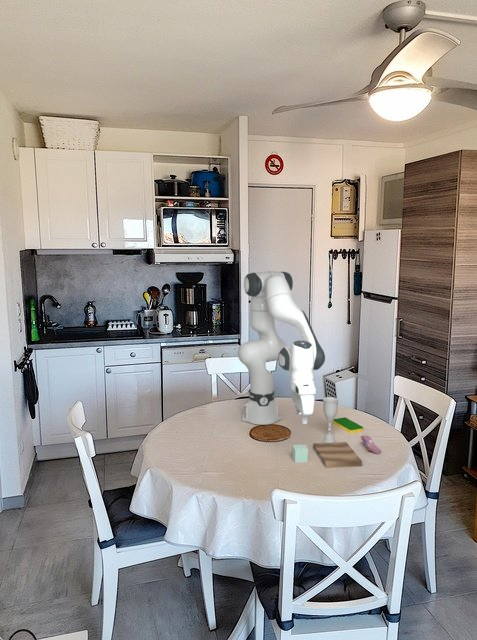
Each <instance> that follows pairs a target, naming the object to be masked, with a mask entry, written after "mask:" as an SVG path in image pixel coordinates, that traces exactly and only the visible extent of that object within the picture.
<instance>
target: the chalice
mask: <svg viewBox="0 0 477 640" xmlns="http://www.w3.org/2000/svg"><path fill="white" fill-rule="evenodd" d="M339 401H340V399H338V398H336V397H332V396H327V397H323V398H322V402H323V414H324V417H325V418H326V419H325V420H326V421H328V424H327V427H328V428H327V431H328V432H327V434H325V436H324V438H323V439H322V441H323V442H324V443H332V442H336V439H335V436H334V435H333V434H332V422H333V420H334V419H336V416H337V413H338V403H339Z"/></svg>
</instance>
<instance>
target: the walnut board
mask: <svg viewBox="0 0 477 640" xmlns="http://www.w3.org/2000/svg"><path fill="white" fill-rule="evenodd" d="M347 442H348V441H339V442H338V441H335V442H332V443H328V442H316V443H315V442H313V445H312V449H313V450H314V452H315V453H316V455H317V456H318V458H319V459H320V461H321V462H322V464H323V465H324V467H325V468H329V469H330V468H350V467H362V466H363V460H362V459H361V457H359V456H358V454H357V453H356V452H355V451H354V450H353V449H352V447H351V446H350V444H349V443H347Z"/></svg>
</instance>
